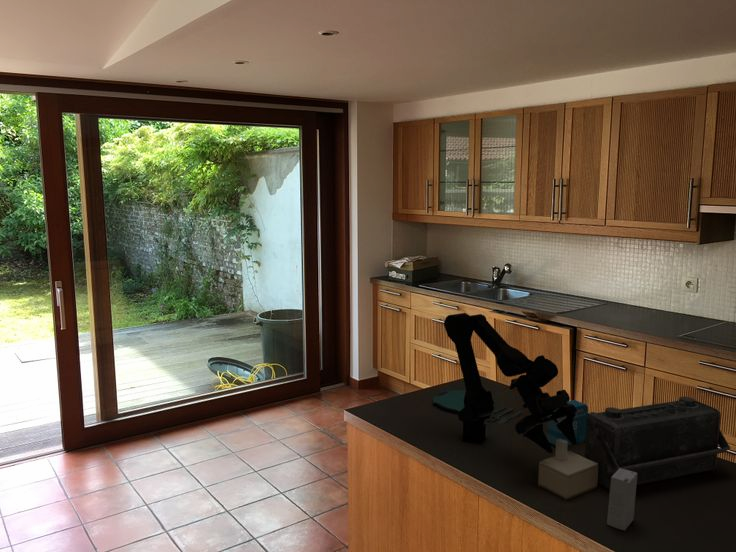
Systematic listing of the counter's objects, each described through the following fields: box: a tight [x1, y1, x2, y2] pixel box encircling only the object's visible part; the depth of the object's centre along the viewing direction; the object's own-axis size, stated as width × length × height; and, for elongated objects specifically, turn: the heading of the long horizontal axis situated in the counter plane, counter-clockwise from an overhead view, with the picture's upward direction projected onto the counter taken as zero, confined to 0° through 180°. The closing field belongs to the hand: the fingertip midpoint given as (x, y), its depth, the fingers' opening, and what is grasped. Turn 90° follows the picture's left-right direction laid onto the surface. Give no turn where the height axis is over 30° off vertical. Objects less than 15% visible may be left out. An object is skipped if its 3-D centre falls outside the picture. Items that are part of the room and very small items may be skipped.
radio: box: [583, 396, 731, 491], centre depth 164 cm, size 38×14×20 cm, turn 110°
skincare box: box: [606, 468, 638, 531], centre depth 141 cm, size 6×4×12 cm
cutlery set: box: [432, 389, 523, 426], centre depth 214 cm, size 20×30×2 cm, turn 43°
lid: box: [539, 439, 598, 477], centre depth 158 cm, size 9×12×6 cm
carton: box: [537, 463, 598, 501], centre depth 159 cm, size 9×12×6 cm
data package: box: [546, 399, 589, 447], centre depth 186 cm, size 12×4×12 cm, turn 116°
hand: (563, 448), depth 159 cm, fingers open, 9 cm apart
